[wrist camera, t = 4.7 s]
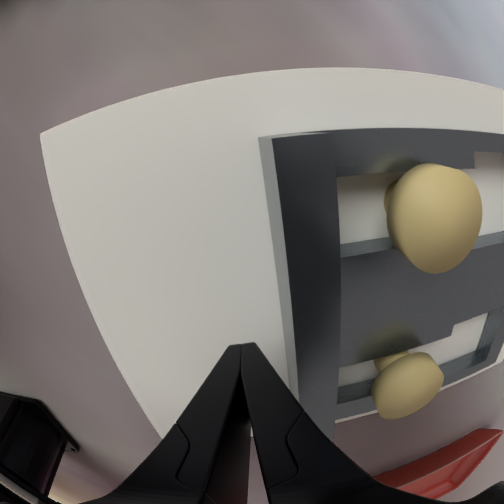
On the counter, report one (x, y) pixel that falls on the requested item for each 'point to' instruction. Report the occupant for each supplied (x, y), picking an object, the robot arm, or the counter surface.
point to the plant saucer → (443, 466)
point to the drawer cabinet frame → (368, 265)
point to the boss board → (257, 219)
